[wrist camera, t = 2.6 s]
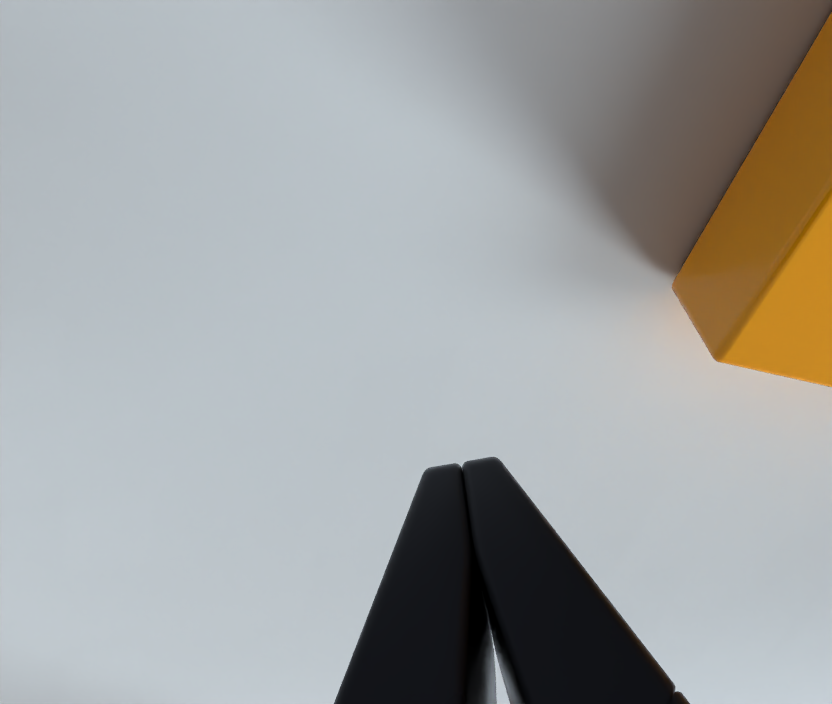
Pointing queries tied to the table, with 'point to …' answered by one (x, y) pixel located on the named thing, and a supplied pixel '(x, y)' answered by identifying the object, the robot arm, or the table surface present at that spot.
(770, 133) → the mustard yellow box
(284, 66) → the table surface
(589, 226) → the table surface
